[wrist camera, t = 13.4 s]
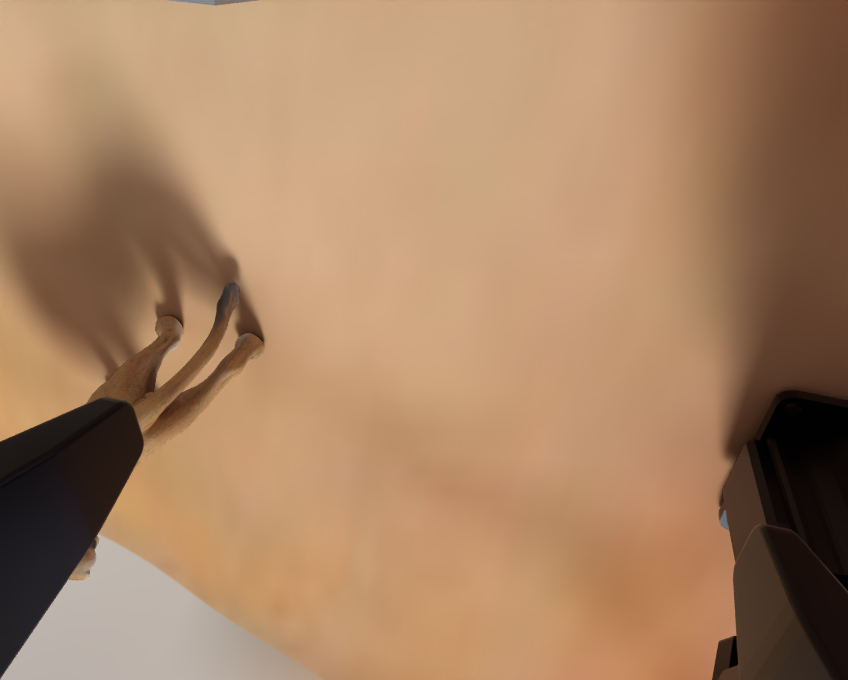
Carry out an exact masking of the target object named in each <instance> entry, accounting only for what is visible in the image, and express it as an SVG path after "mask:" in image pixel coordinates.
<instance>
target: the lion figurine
mask: <svg viewBox="0 0 848 680" xmlns="http://www.w3.org/2000/svg"><path fill="white" fill-rule="evenodd" d="M239 291H240V290H239V287H238V285H237V284H236V283H234V282H228V283H227V285H226V286H225V288H224V291H223V294H222V296H221V298H220V299H219V301H218V303H217V312H216V317H215V322H214V325H213V328H212V330H211V332H210V334H209V336H208V337H207V339H206V340H205V342H204V343H203V345H202V346H201V347H200V349H199V350H198V351H197V352H196V354H195V355H194V356H193V357H192V358H191V359H190V361H189V362H188V363H187V364H186V365H185V366H184V367H183V368H182V369H181V370H180V371H179V372H178V373H177V374H176V375H175V376H174V377H172V378H171V379H170V380H169V381H168V382H166V383H165V384H164V385H163V386H162V387H160V388H159V389H158V390H157V391H156V392H154V388H155V382H156V376H157V372H158V370H159V367H160V365H161V363H162V359H163V358H164V356H165V355H166V354H168V353H169V352H170V351H172V350H174V349H175V348H177V347H178V345H179V342H180V339H181V337H182V336H183V333H184V331H183V328H182V325H181V323H180V322H179V321H178V320H177V319H175V318H174V317H171V316H163V317H161V318H159V319H158V320H157V321H156V327H155V331H156V333H157V335H158V338H157V339H156V340H155V341H154V342H153V343H152V344H150V345H149V346H148V347H146V348H145V349H144V350H142V351H141V352H139V353H138V354H136V355H135V356H133V357H132V358H130V359H129V360H127V361H126V362H125V363H124V364H123V365H121V366H120V367H119V368H118V369H117V371H116V372H115V373H114V374H113V375H112V377H111V378H110V379H109V380H108V381H106V382H105V383H104V384H102V385H101V386H100V387H99V388H98V389H97V390H96V391H95V392H94V393H93V394H92V396H91V397H90V399H89V400H88V402H87V403H90V402H92V401H94V400H97V399H99V398H102V397H111V398H116V399H121V400H126V401H128V402H130V403H131V404H132V405H133V407H134V409H135V412H136V416H137V419H138V422H139V425H140V428H141V431H142V435H143V438H144V448H143V451H142V454H141V457H140V458H139V460H138V462H137V464H136V466H135V468H136V467H137V466H138V465H139V464H140V463H141V462H142V460H144V459H146V458H147V457H149V456H151V455H152V454H153V453H154V452H156V451H157V450H158V449H159V448H160V447H161V446H163V445H164V444H165V443H166V442H168V441H169V440H171V439H172V438H174V437H175V436H177V435H179V434H181V433H182V432H183V431H185V430H186V429H187V428H188V427H189V426H190V425H191V424H192V423H193V422H194V420H195V419H196V418H197V417H198V416H199V415H200V414H201V413H202V412H203V411H204V410H205V409H206V408H207V406H208V405H209V404H210V403H211V402H212V401H213V400H214V398H215V397H216V396H217V394H218V393H219V392H220V391H221V390H222V389H223V388H224V386H225V385H226V384H228V383H229V382H230V381H231V380H232V379H233V378H234V377H236V376H237V375H238V374H240V372H241V371H242V370H243V368H244V366H245V365H246V363H247V361H248V360H249V359H256V358H257V357H259V356H260V355H261V353H262V352H263V350H264V344H263V342H262V341H261V340H260V339H259V338H258V337H257V336H255V335H253V334H251V333H245V334H243V335H242V336H240V337H239V338H238V339H237V341H236V343H235V348H234V349H233V350H232V351H231V352H230V353H229V354H228V355H227V356H226V357H225V358H224V359H223V360H222V361H221V362H220V364H219V365H218V366H217V368H216V369H215V370H214V372H213V373H212V374H211V375H210V376H209V377H208V378H207V379H206V380H204V381H203V382H202V383H200V384H199V385H197V386H195V387H193V388H191V389H188V390H186V391H184V392H182V391H183V390H184V389H185V388H186V387H187V386H188V385H189V384H190V383H191V381H192V380H193V379H194V378H195V377H196V376H197V375H198V374H199V372H200V371H201V370H202V369H203V368H204V366H205V365H206V364H207V363H208V362H209V360H210V359H211V358H212V356H213V355H214V353H215V352H216V350H217V348H218V347H219V344H220V342H221V340H222V338H223V336H224V334H225V331H226V329H227V326H228V322H229V319H230V316H231V314H232V311H233V310H234V308H235V307H236V305H237V304H238V303H239ZM153 392H154V393H153ZM181 392H182V393H181ZM135 468H134V469H135ZM134 469H133V470H134ZM98 543H99V538H98V537H97V536H96V538H95V540H94V541H93V543H92V545H91V546H90V548H89V549H88V551H87V552H86V554H85V555H84V557H83V558H82V560H81V561H80V563H79V564H78V566H77V567H76V569H75V570H74V572H73V573H72V574H71V576H70V577H69V579H70V580H85V579H87V578H88V577H89V575H90V570H91V568H92V567H93V565H94V563H95V561H96V553H95V551H94V550H95V548H96V546H97V545H98Z"/></svg>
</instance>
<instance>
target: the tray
mask: <svg viewBox="0 0 848 680" xmlns="http://www.w3.org/2000/svg"><path fill="white" fill-rule="evenodd" d="M170 1H179V2H189V3H198V4H207V5H222V4H231V3H239V2H248V1H256V0H170Z"/></svg>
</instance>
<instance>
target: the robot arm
mask: <svg viewBox="0 0 848 680" xmlns="http://www.w3.org/2000/svg"><path fill="white" fill-rule="evenodd" d="M791 403H796V404H798V405H797V406H796V407H794V408H785V407H786V406H787V405H788V404H791ZM143 448H144V438H143V435H142V431H141V428H140V425H139V422H138V419H137V416H136V412H135V409H134V407H133V405H132V404H131V403H130V402H128V401H126V400H121V399H116V398H111V397H102V398H99V399H97V400H94V401H92V402H90V403H87V404H85V405H83V406H81V407H78V408H76V409H74V410H71V411H69V412H67V413H65V414H62V415H60V416H58V417H55V418H53V419H51V420H49V421H46V422H44V423H42V424H39V425H37V426H35V427H33V428H30V429H28V430H26V431H23V432H21V433H19V434H17V435H14V436H12V437H10V438H7V439H5V440H3V441H1V442H0V679H1V677H2V676H3V674H4V673H5V671H6V670H7V668H8V667H9V665H10V664H11V663H12V661H13V659H14V658H15V657H16V655H17V654H18V652H19V651H20V649H21V648H22V646H23V645H24V643H25V642H26V641H27V639H28V637H29V636H30V635H31V633H32V632H33V630H34V629H35V627H36V626H37V624H38V623H39V621H40V620H41V619H42V617H43V616H44V614H45V613H46V611H47V610H48V608H49V607H50V605H51V604H52V602H53V601H54V599H55V598H56V596H57V595H58V593H59V592H60V591H61V589H62V588H63V586H64V585H65V583H66V582H67V580H68V579H69V577H70V576H71V574H72V573H73V572H74V570H75V569H76V567H77V566H78V564H79V563H80V561H81V560H82V558H83V557H84V555H85V554H86V552H87V551H88V549H89V548H90V546H91V545H92V543H93V541H94V540H95V538H96V536H97V535H98V533H99V531H100V530H101V528H102V526H103V524H104V522H105V521H106V519H107V517H108V515H109V513H110V511H111V510H112V508H113V506H114V504H115V502H116V501H117V499H118V497H119V495H120V493H121V491H122V490H123V488H124V486H125V484H126V482H127V480H128V479H129V477H130V475H131V473H132V471H133V469H134V468H135V466H136V464H137V462H138V460H139V458H140V457H141V454H142V451H143ZM722 494H723V499H724V502H723V504H722V506H721V508H720V510H719V520H720V523H721V526H723V527H724V528H725V529H727V530H729V531H730V536H731V542H732V547H733V552H734V557H735V566H734V572H733V586H734V602H735V618H736V634H737V636H733V637H730V638H727V639H724V640H721V641H719V643H718V649H717V655H716V660H715V666H714V672H713V678H712V680H848V401H846V400H841V399H836V398H831V397H826V396H821V395H816V394H811V393H806V392H801V391H796V390H788V391H784V392H781V393H780V394H778V395H777V396H776V397H775V398H774V400H773V402H772V404H771V406H770V408H769V410H768V412H767V414H766V416H765V418H764V420H763V422H762V425H761V427H760V429H759V431H758V433H757V435H756V437H755V439H751V440H749V441H748V442H746V443H745V444H744V446H743V448H742V450H741V452H740V454H739V456H738V458H737V460H736V463H735V465H734V467H733V469H732V471H731V473H730V475H729V477H728V479H727V481H726V483H725V485H724V487H723V490H722Z"/></svg>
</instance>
